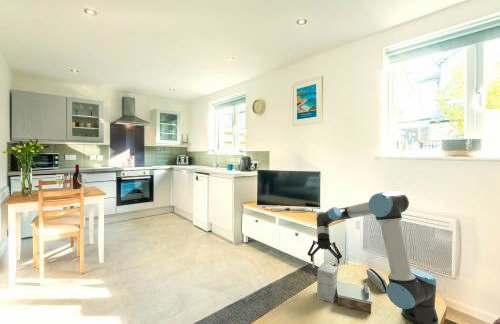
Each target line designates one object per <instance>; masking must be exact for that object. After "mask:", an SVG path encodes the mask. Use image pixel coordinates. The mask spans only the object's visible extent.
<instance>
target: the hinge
mask: <svg viewBox="0 0 500 324" xmlns="http://www.w3.org/2000/svg"><path fill="white" fill-rule="evenodd" d="M365 270H366V275H367V279H369V280H370V281H371V283H373V284H374V285H375V286H376V287H377V288H378V289H380V291H381V292H382V293H386V287H387V285H388V283H387V282H386V279H385V278H384V277H383V275H381V273H380V272H379V271H378V270H376V269H375V268H373V267H369V268H367V269H365Z"/></svg>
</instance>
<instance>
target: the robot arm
mask: <svg viewBox="0 0 500 324" xmlns="http://www.w3.org/2000/svg"><path fill="white" fill-rule="evenodd" d="M409 206H410V201H409V198H408V197H407V196H406V195H405V194H404V193H403V192H401V191H396V190H395V191H394V190H393V191H385V192H383V191H382V192H378V193H375V194H373V195H372V196H371V197H370V198H369V201H366V202H362V203H358V204H354V205H350V206H346V207H342V208H341V207H340V208H338V207H337V206H333V207H331V208H329V209H328V210H327V211H326V212H325V211H320V212H317V214H316V219H315V220H316V232H317V233H316V234H317V241H315V240H312V244H311V246H310V247H309V250H308V251H307V256H309V257H310V262H312V268H313V269H315V255H316V253H317V252H318V251H319V250H320V249H321V250H324V251H325V250H328V251H329V253H330V254H332V255H333V256H334V257H335V267H338V268H339V265H340V260H341V259H342V258H343V255H342V253H341V251H340V250H339V248H338V247H337V246H336V242H335V241H334V242H331V240H330V239H331V237H330V227H329V225H331V224H332V223H334V222H338V221H343V220H350V219H353V218H359V217H364V216H370V215H373V216H374V217H375V220H376V221H377V222H378V223H379V224H380V227H381V228H380V229H381V232H382V238H383V242H384V247H385V252H386V258H387V261H388V266H389V269H390V273H388V275H387V277H388V278H387V279H388V283H387V287H386V290H385V293H386V296H387V298H388V299H389V301H390V302H391V303H393V305H395V306H396V307H397V308H400V309H401V313H402V315H403V317H404V318H405V319H407V320H408V321H409V322H410V323H412V324H439V316H438V313H437V311H436V308H435V307H436V306H435V305H436V293H437V291H436V290H437V280H436V277H434V276H433V275H432V274H430V273H428V272H425V271H423V270H419V269H413V268H411V267H410V263H409V259H408V258H409V257H408V254H407V250H406V245H405V241H404V236H403V235H404V234H403V231H402V226H401V223H400V222H401V221H402V219H403V217H402V213H404V212H406V211H407V210H408V208H409ZM316 245H317V246H316ZM315 246H316V248H315ZM332 247H333V248H332ZM314 248H315V249H314Z"/></svg>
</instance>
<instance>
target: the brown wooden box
mask: <svg viewBox="0 0 500 324" xmlns="http://www.w3.org/2000/svg"><path fill="white" fill-rule="evenodd" d="M337 306H338V307H340V308H345V309H349V310H352V311H353V310H354V311H357V312H358V311H359V312H363V313H367V314H371V313H372V304H369V303H364V302H359V301H355V300H350V299H345V298H340V297H338V296H337Z"/></svg>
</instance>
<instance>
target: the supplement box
mask: <svg viewBox="0 0 500 324" xmlns="http://www.w3.org/2000/svg"><path fill="white" fill-rule="evenodd" d="M338 270H339V266H338V267H336V265H335V266H334V265H330V264H326V263H321V264H320V266H319V267H318V268H317V279H316V282H317V283H316V284H317V285H316V286H317V287H316V298H317V299H319V300H323V301H326V302H329V303H332V304H333V303H334V302H335V300H336V298H337V297H338Z"/></svg>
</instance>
